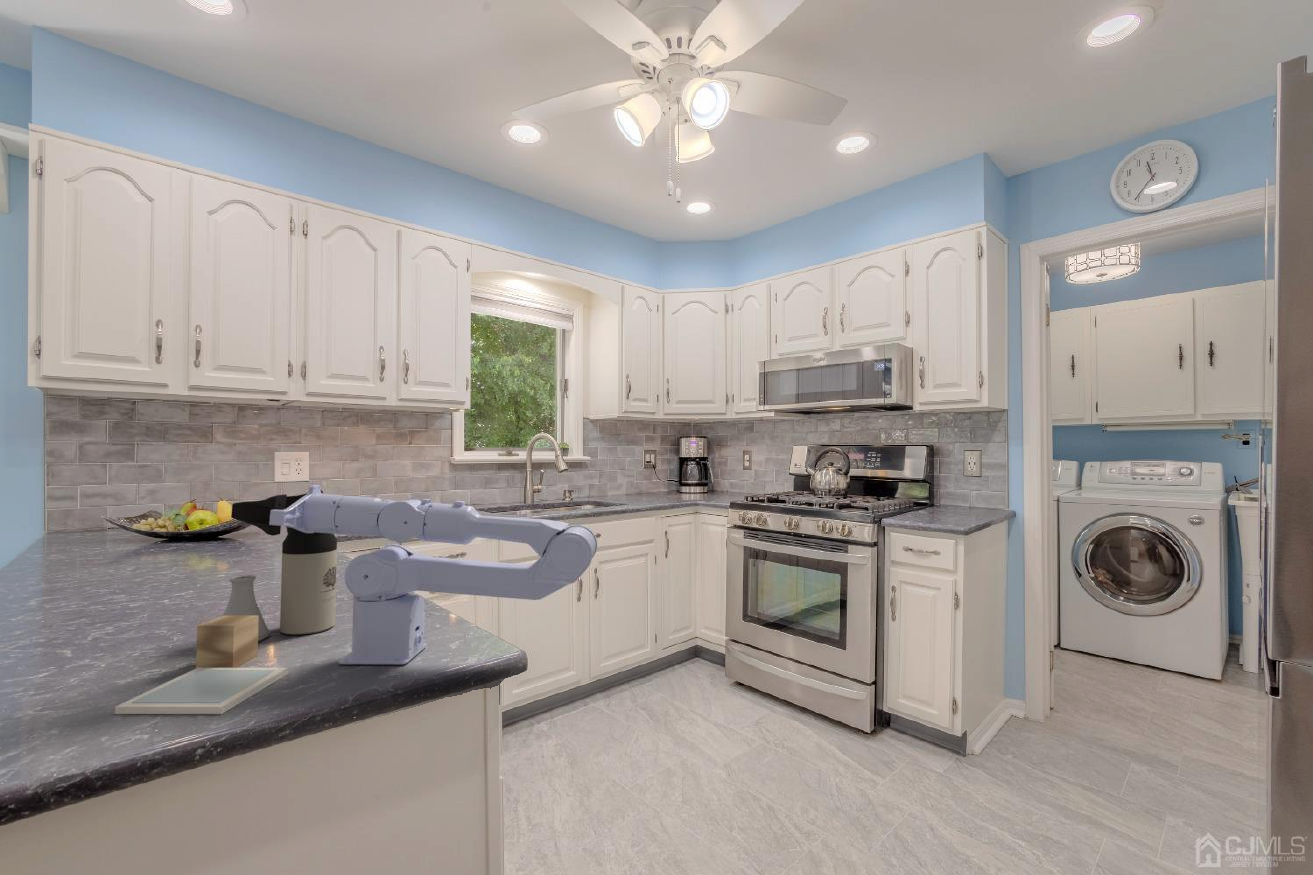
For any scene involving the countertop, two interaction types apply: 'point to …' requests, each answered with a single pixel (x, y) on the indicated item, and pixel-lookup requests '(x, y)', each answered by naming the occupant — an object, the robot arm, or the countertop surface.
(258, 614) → the flask
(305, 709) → the countertop surface
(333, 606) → the travel mug
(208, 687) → the picture frame
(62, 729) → the countertop surface
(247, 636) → the oak block
